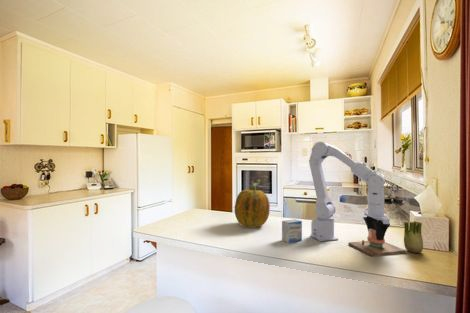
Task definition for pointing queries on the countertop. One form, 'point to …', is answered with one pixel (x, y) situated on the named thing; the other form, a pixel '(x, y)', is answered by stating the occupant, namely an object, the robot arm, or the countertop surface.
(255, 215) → the pumpkin
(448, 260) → the countertop surface
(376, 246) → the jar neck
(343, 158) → the robot arm
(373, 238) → the lid
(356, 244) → the board
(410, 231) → the fennel bulb
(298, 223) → the medicine box
